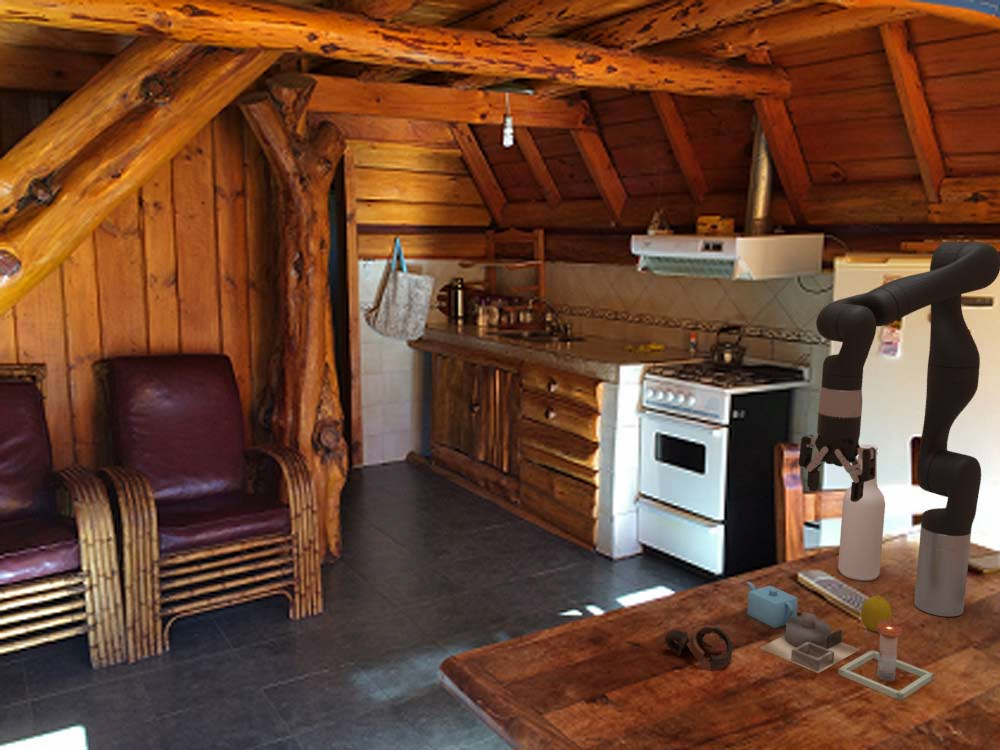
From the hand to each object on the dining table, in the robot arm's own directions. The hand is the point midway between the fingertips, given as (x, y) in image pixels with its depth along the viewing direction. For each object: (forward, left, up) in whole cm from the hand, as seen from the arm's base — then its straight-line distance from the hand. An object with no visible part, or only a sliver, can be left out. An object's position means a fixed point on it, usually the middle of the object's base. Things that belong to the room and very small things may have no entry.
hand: (833, 495), depth 169 cm
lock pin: (+9, +17, -27) cm, 33 cm away
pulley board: (+10, +3, -28) cm, 30 cm away
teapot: (+4, -10, -28) cm, 30 cm away
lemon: (-8, +6, -28) cm, 30 cm away
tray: (+9, +17, -28) cm, 34 cm away
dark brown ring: (+28, -8, -28) cm, 41 cm away
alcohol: (-34, -12, -28) cm, 46 cm away
